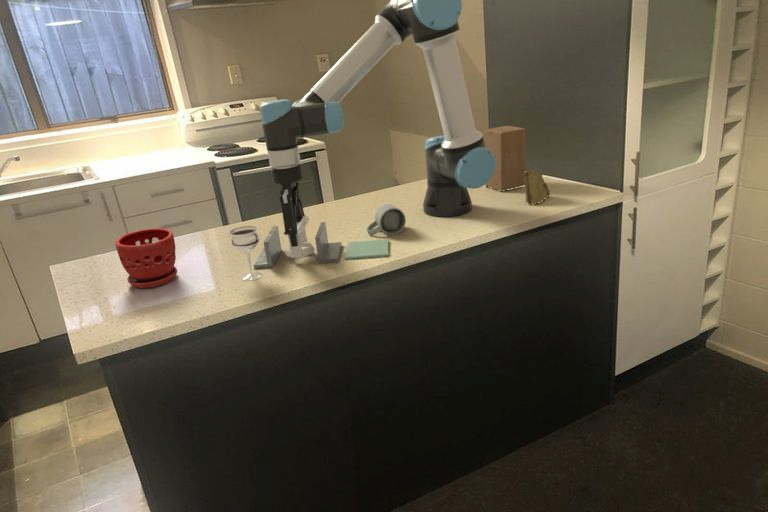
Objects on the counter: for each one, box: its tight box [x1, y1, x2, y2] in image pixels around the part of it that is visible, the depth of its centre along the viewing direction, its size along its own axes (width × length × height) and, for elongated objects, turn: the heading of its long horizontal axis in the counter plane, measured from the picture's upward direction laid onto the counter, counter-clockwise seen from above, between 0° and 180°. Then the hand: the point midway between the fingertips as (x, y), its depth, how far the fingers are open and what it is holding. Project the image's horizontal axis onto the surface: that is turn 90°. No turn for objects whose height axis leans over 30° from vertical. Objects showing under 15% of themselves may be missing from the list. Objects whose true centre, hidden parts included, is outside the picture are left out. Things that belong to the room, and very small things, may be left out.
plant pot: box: [115, 228, 178, 289], centre depth 132 cm, size 13×13×12 cm
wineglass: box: [228, 225, 263, 282], centre depth 129 cm, size 7×7×12 cm
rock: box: [524, 170, 551, 206], centre depth 167 cm, size 11×9×10 cm
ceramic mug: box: [366, 203, 407, 236], centre depth 152 cm, size 11×8×8 cm
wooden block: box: [483, 125, 527, 191], centre depth 183 cm, size 10×10×20 cm
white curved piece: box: [285, 214, 316, 258], centre depth 139 cm, size 8×12×7 cm
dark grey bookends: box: [253, 221, 343, 270], centre depth 140 cm, size 21×12×7 cm, turn 89°
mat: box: [344, 238, 389, 260], centre depth 141 cm, size 11×11×1 cm
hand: (299, 250), depth 140 cm, fingers closed on white curved piece, 8 cm apart
